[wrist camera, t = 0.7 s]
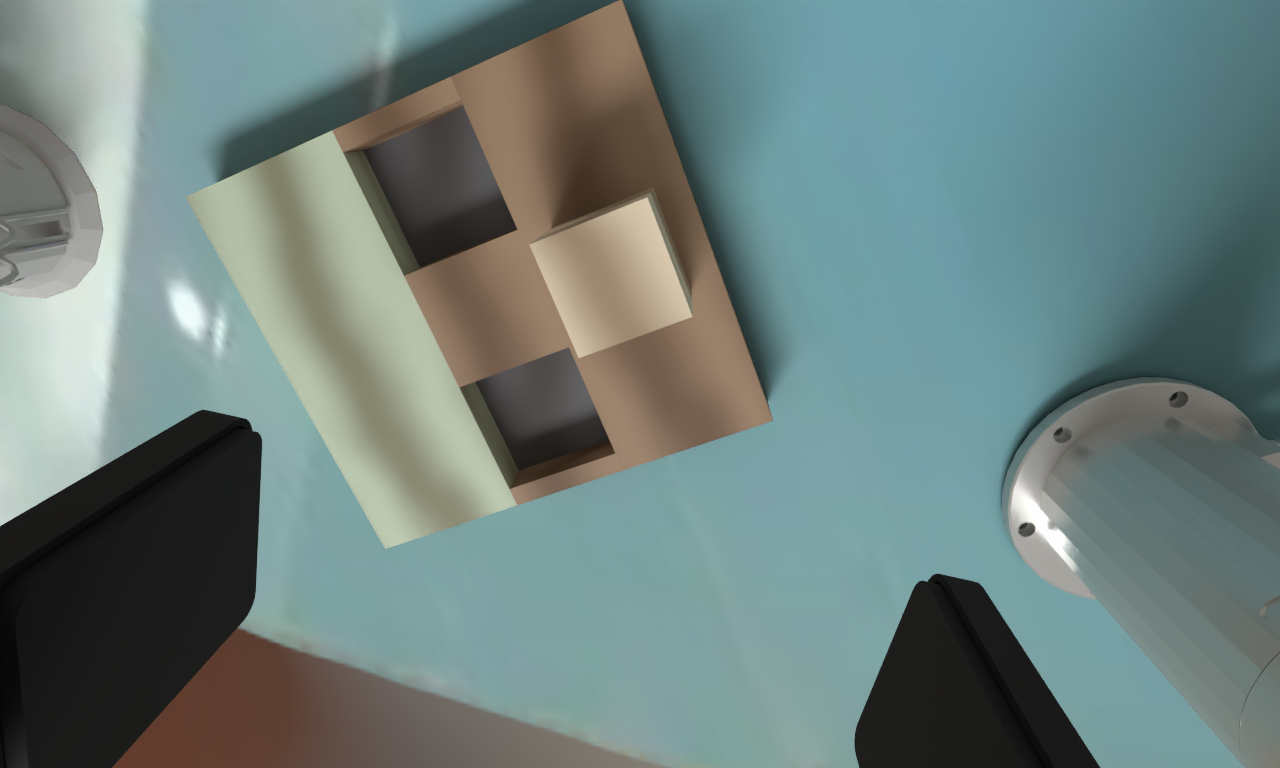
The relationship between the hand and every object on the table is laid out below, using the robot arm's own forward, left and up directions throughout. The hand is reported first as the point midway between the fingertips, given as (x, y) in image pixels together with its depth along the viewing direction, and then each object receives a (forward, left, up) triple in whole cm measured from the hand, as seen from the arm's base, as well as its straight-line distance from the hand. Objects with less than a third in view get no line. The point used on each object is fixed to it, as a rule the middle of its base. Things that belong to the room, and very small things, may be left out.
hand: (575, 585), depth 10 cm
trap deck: (+8, -1, -27) cm, 29 cm away
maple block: (+1, -1, -25) cm, 25 cm away
